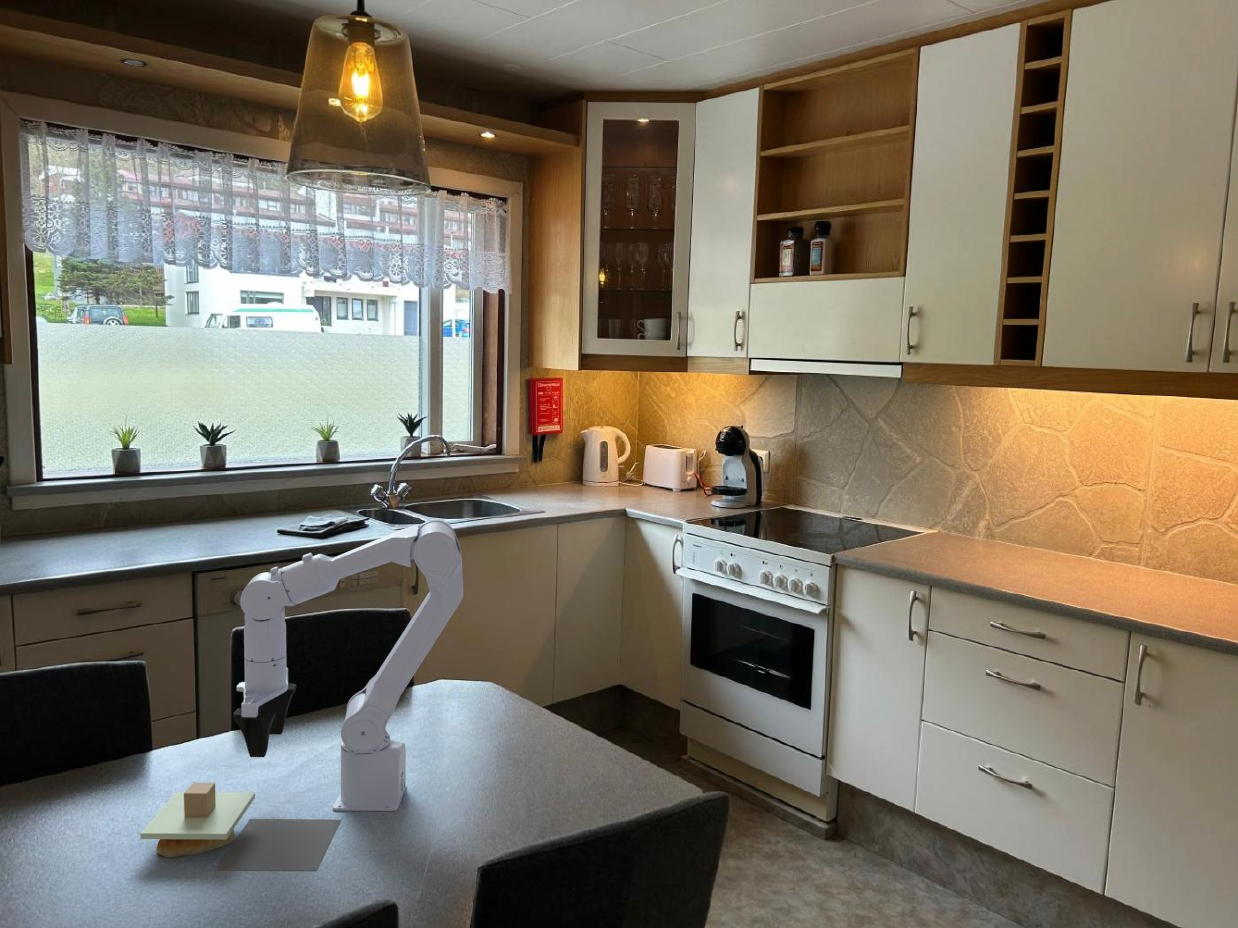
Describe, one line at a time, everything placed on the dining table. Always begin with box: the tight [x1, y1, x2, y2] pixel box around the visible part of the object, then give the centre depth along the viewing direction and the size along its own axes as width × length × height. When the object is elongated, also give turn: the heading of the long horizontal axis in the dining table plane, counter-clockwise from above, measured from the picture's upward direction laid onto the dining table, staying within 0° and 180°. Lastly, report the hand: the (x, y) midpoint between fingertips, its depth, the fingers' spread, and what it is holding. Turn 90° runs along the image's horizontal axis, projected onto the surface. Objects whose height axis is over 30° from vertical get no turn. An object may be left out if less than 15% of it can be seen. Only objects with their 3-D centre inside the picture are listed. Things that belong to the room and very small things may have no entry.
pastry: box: [156, 828, 236, 859], centre depth 125 cm, size 9×7×4 cm
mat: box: [214, 818, 342, 872], centre depth 126 cm, size 13×13×1 cm
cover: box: [139, 782, 256, 840], centre depth 125 cm, size 11×11×4 cm
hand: (266, 744), depth 135 cm, fingers open, 7 cm apart
